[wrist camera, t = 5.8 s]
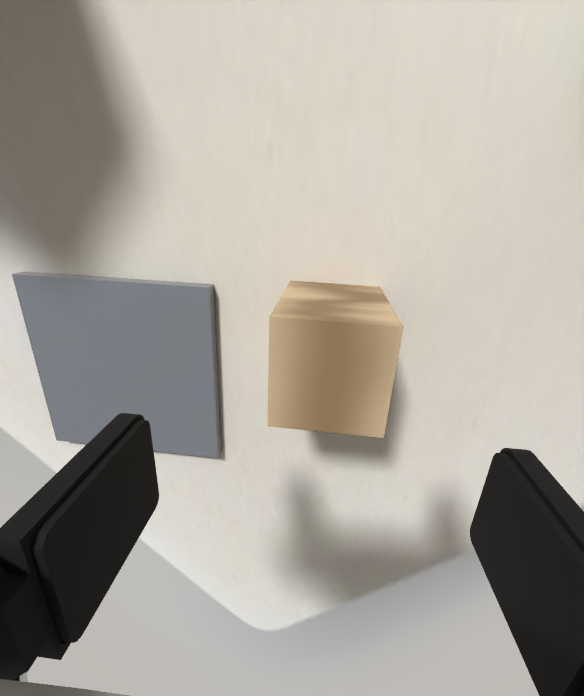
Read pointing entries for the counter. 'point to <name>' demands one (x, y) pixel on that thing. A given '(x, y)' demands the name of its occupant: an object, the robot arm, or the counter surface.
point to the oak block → (332, 358)
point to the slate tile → (125, 356)
